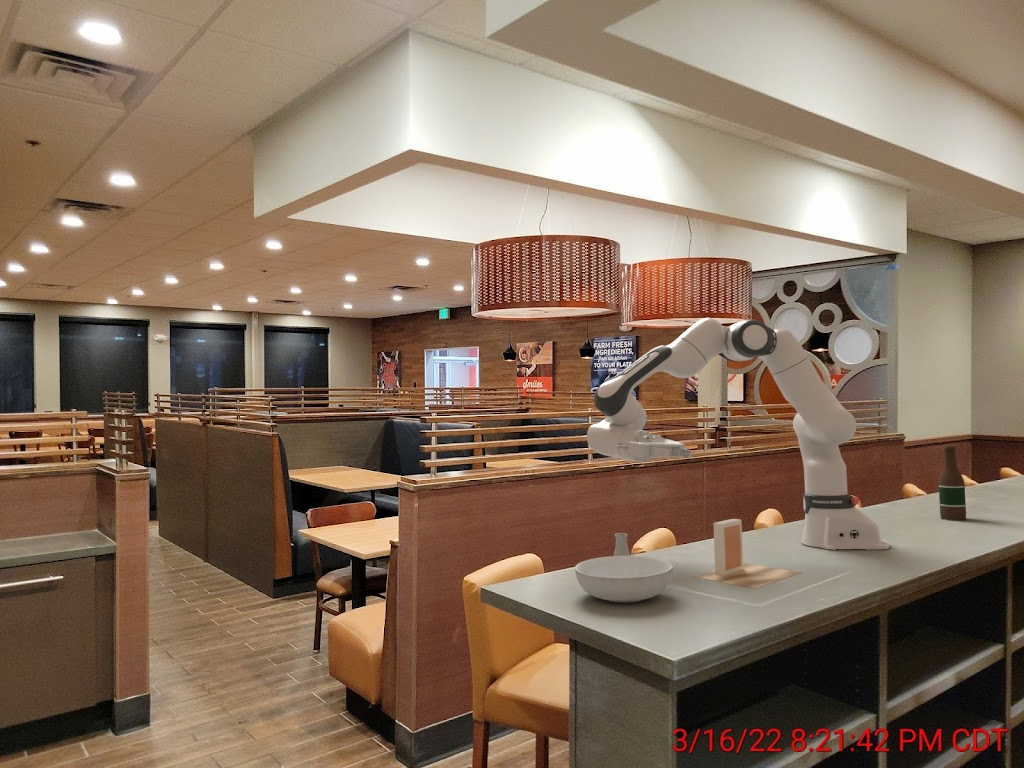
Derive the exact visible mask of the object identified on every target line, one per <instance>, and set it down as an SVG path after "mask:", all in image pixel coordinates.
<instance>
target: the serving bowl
mask: <svg viewBox="0 0 1024 768" xmlns="http://www.w3.org/2000/svg"><path fill="white" fill-rule="evenodd" d="M673 569H674V568H673V564H672V563H671V562H670V561H667V560H664V559H661V558H657V557H651V556H650V557H649V556H639V555H631V556H611V555H610V556H602V557H601V556H600V557H596V558H590V559H587V560H584V561H580V562H579V563H577V564H576V565H575V566H574V572H575V577H576V580H577V583H578V584H579V586H580V587H581V588H582V589H583V590H584V591H585V592H586V593H587V594H588V595H591V596H592V597H595V598H597V599H601V600H605V601H608V600H609V602H612V601H613V602H612V603H619V602H622V603H621V604H623V603H624V604H629V603H630V602H631V603H636V602H641V601H644V600H648V599H651V598H654V597H657V596H658V595H660V594H661V593H662V592H664V591H665V590H666V589H667V588H668V586H669V584H670V583H671V581H672V576H673Z"/></svg>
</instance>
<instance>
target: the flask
mask: <svg viewBox="0 0 1024 768" xmlns="http://www.w3.org/2000/svg"><path fill="white" fill-rule="evenodd" d="M628 536H629V534H628V533H627V532H617V533H614V537H615V547H614V552H613V556H632V555H631V554H630V550H629V546H628V545H629V544H628V539H627V538H628Z"/></svg>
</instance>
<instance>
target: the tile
mask: <svg viewBox="0 0 1024 768" xmlns="http://www.w3.org/2000/svg"><path fill="white" fill-rule="evenodd" d="M742 528H743V525H742V519H738V518H731V519H725V520H722V521H716V522H713V543H714V571H715V574H721V575H726V574H730V573H733V572H736V571H740V570H743V563H744V552H743V550H744V549H743V530H742Z"/></svg>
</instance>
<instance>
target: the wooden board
mask: <svg viewBox="0 0 1024 768" xmlns="http://www.w3.org/2000/svg"><path fill="white" fill-rule="evenodd" d="M799 574H802V572H801V571H800V572H799V571H794V570H788V569H782V568H776V567H770V566H764V565H757V564H753V563H746V562H745V563H744V562H743V570H740V571H736V572H733V573H730V574H726V575H721V574H715V570H712V571H709V572H706V573H703V574H699V575H696V576H694V578H697V579H703V580H707V581H712V582H713V581H714V582H718V583H724V584H729V585H734V586H738V587H739V586H740V587H743V588H750V589H757V588H760V587H761V588H762V587H763V586H767V585H771V584H773V583H775V582H779V581H782V580H785V579H788V578H791V577H794V576H797V575H799Z"/></svg>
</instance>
